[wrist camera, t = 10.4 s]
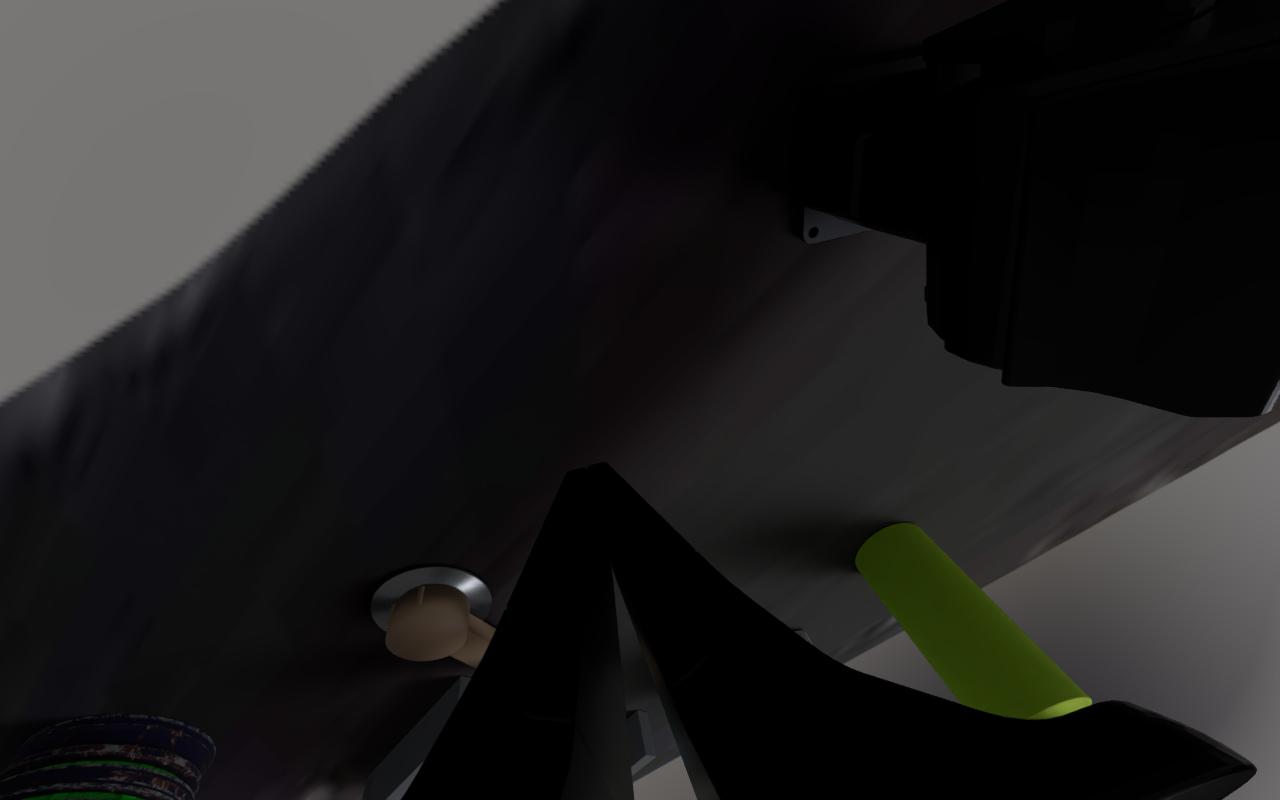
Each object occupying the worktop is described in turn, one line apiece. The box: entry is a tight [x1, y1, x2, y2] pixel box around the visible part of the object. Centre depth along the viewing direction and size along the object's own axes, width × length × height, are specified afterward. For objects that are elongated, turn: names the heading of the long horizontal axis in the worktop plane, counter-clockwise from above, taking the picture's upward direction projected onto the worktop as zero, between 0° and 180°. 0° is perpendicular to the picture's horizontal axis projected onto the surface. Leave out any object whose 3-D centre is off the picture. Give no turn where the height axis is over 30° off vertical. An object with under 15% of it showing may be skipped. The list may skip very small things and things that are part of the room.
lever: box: [385, 585, 496, 668], centre depth 27 cm, size 19×4×12 cm, turn 32°
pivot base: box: [370, 564, 492, 632], centre depth 28 cm, size 7×7×1 cm
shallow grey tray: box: [362, 676, 656, 800], centre depth 38 cm, size 15×18×4 cm
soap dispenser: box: [855, 523, 1092, 719], centre depth 28 cm, size 6×7×20 cm
